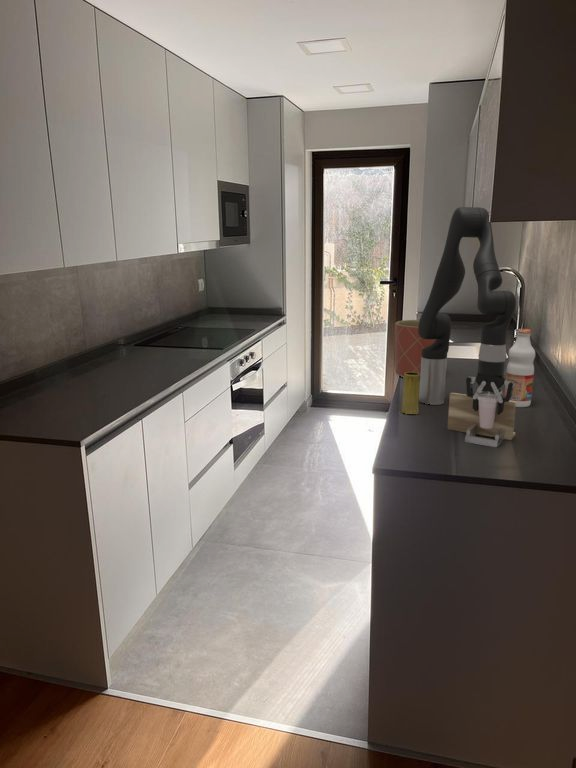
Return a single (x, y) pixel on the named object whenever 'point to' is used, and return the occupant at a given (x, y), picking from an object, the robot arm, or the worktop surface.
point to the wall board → (465, 416)
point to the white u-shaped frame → (474, 439)
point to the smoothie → (487, 409)
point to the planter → (409, 347)
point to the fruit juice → (521, 368)
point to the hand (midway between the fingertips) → (487, 412)
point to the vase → (411, 393)
